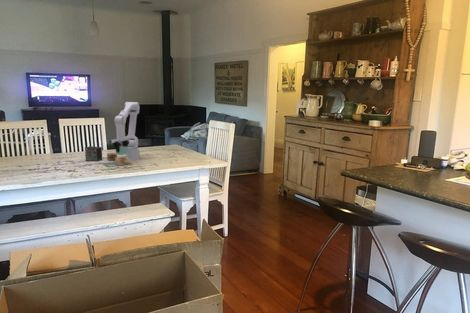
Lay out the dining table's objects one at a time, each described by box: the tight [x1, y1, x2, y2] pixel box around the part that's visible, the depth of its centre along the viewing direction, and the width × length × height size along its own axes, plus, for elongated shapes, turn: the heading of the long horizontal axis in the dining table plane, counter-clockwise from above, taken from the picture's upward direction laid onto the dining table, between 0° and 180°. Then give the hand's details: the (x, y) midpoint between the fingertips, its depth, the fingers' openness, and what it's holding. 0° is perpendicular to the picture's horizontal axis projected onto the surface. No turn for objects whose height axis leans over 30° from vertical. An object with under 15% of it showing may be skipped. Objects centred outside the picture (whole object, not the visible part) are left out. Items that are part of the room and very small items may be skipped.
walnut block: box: [106, 152, 118, 162], centre depth 265 cm, size 6×6×6 cm
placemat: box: [102, 161, 134, 168], centre depth 253 cm, size 18×14×1 cm
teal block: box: [115, 145, 127, 156], centre depth 253 cm, size 6×6×6 cm
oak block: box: [114, 156, 130, 166], centre depth 254 cm, size 7×7×4 cm
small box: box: [84, 145, 103, 162], centre depth 265 cm, size 11×6×10 cm, turn 74°
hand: (121, 151), depth 253 cm, fingers closed on teal block, 5 cm apart
